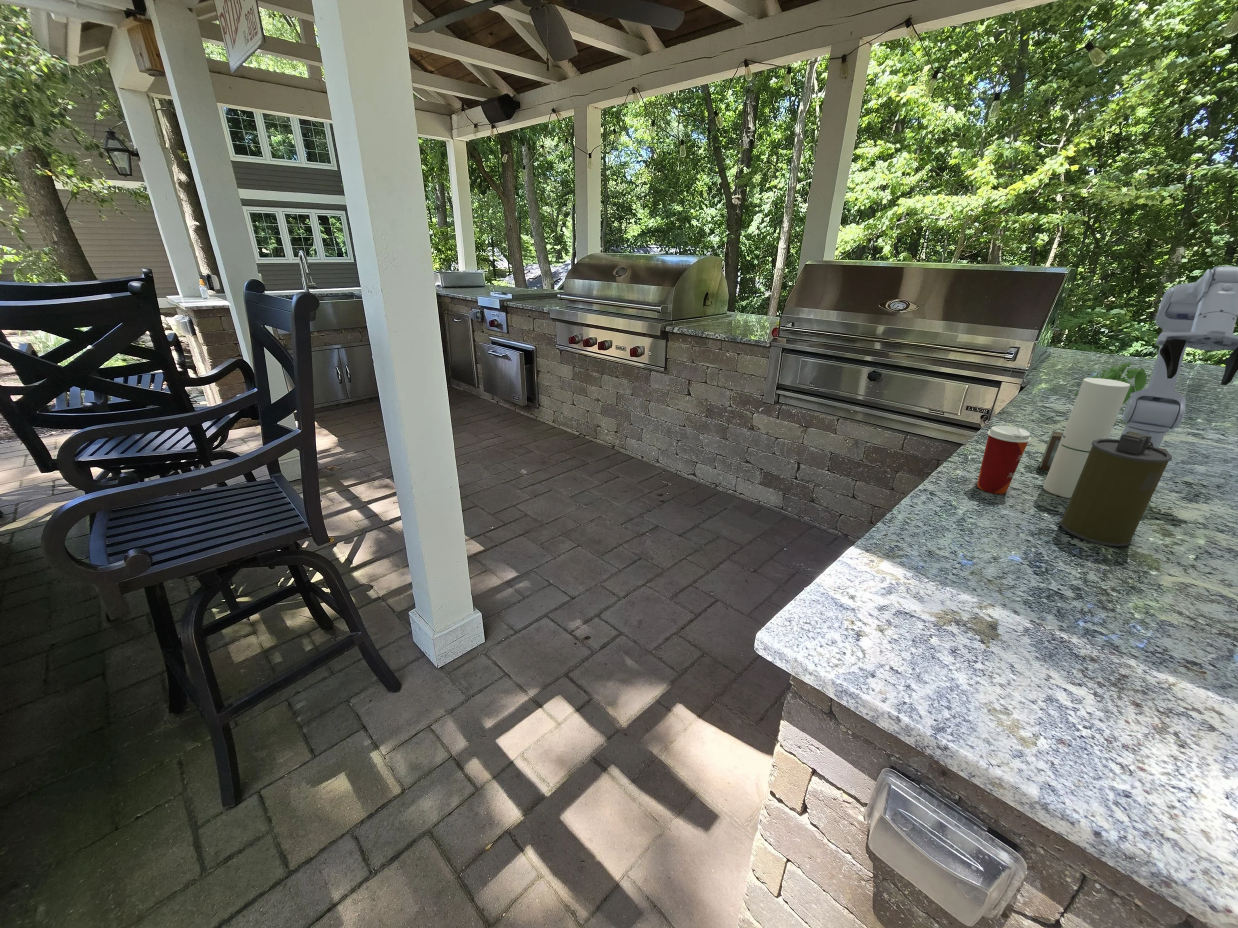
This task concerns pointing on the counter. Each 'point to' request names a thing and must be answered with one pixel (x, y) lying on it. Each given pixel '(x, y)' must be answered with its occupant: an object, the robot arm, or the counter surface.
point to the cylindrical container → (1084, 431)
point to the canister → (1114, 489)
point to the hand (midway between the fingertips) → (1198, 379)
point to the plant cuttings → (1117, 374)
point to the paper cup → (1001, 458)
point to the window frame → (1054, 450)
